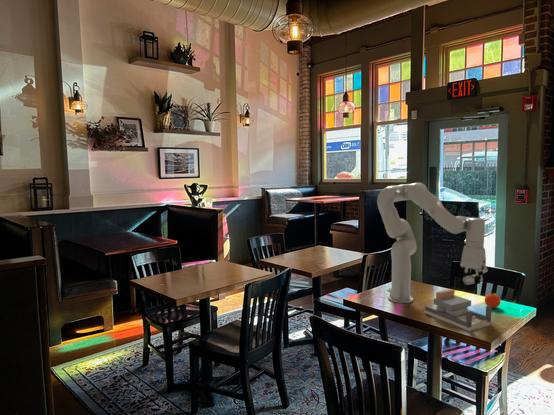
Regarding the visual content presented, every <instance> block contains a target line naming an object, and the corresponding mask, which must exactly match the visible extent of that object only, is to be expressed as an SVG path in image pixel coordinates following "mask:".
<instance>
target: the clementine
mask: <svg viewBox="0 0 554 415" xmlns="http://www.w3.org/2000/svg"><path fill="white" fill-rule="evenodd" d="M484 303H485V305H486V306H492V309H495V308H497V307H500V304H501V298H500V296H499V294H497V293H489V294H486V296H485V297H484Z"/></svg>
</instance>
